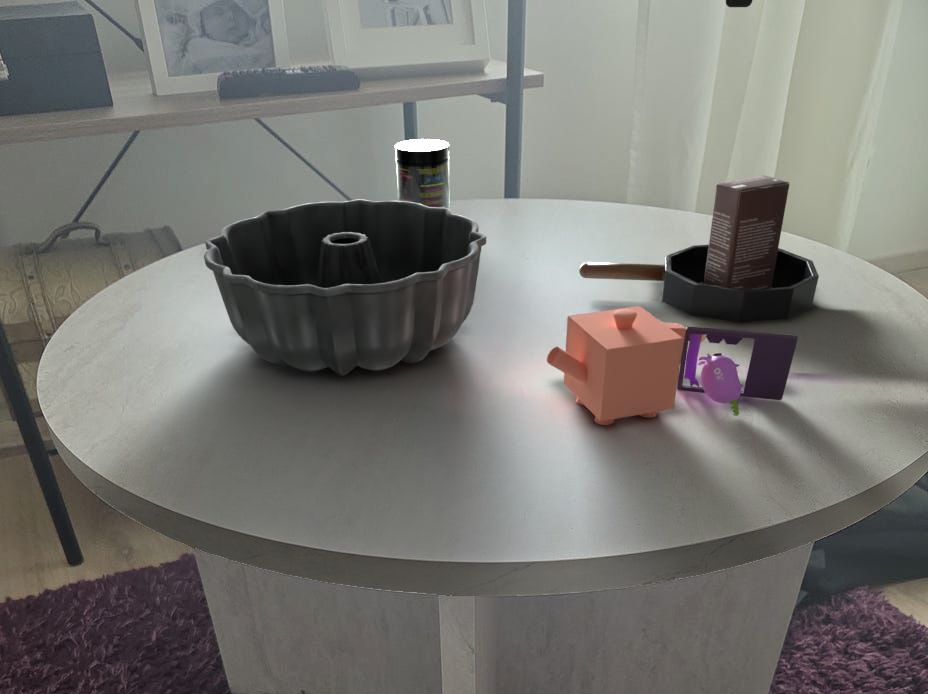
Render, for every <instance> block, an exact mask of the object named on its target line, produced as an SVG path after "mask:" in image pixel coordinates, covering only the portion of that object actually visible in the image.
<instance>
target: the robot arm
mask: <svg viewBox="0 0 928 694" xmlns="http://www.w3.org/2000/svg"><path fill="white" fill-rule="evenodd" d="M753 1H754V0H725V5H726V6H727V7H728V8H748V7H750V6H751V5H752V3H753Z"/></svg>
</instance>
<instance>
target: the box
mask: <svg viewBox="0 0 928 694" xmlns="http://www.w3.org/2000/svg"><path fill="white" fill-rule="evenodd" d="M715 184H716V186H715V192H714V193H715V194H714V202H713V209H712V218H711V224H710V233H709V240H708V245H709V248H708V256H707V263H706V271H705V279H704V283H703V284H706V285H713V286H720V287H727V288H734V289H741V290H753V289H767V288H771V287H772V281H773V275H774V270H775V264H776V258H777V252H778V248H779V247H780V241H781V236H782V235H781V234H782V229H783V223H784V218H785V211H786V205H787V201H788V195H789V189H790V182H789V181H785V180H782V179H778V178H775V177H771V176H768V175H764V174H763V175H757V176H752V177H747V178H739V179H735V180H728V181H720V182H716V183H715Z"/></svg>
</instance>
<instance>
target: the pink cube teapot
mask: <svg viewBox="0 0 928 694" xmlns="http://www.w3.org/2000/svg"><path fill="white" fill-rule="evenodd" d="M685 333H686V326H684V325H682V324H681V323H679V322H663V321H661V320H659V319H658V318H657V317H656V316H655V315H653V314H652V313H650V312H649V311H647V310H646V309H644V308H643V307H642V306H640V305H636V306H630V307H623V308H614V309H608V310H599V311H594V312H586V313H580V314H572V315H568V316H567V320H566V339H565V350H564V349H562V348H561V347H559V346H555V347H553V348H552V349H551V350H550V351H549V353H548V354H547V357H546V362H547V364H548V365H550V366H552V367H553V368H555V369H557V370H558V371H560V372H562V373H563V384H564V386H565V387H566V388H567V389H568V390H569V391H570V392H571V393H572V394H573V395H574V396H575V397H576V399H575V403H576V404H578V405H581V406H585V408H587V409H588V410H589V411H590V412H591V413H592V414H593V415H594V417H595V418H594V422H595V424H597V425H602V426H609V425H612V424H614V423H615V420H616V419H622V418H628V417H633V416H640V417H643V418H647V419H648V418H654V417H657V416H658V412H664V411H670V410H674V407H675V401H676V395H677V385H678V377H679V370H680V362H681V356H682V350H683V345H684V339H685Z"/></svg>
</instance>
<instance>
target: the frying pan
mask: <svg viewBox="0 0 928 694" xmlns="http://www.w3.org/2000/svg"><path fill="white" fill-rule="evenodd" d="M708 248H709V244H697V245H691V246H688V247H685V248H683V249H680V250H678V251H675V252H673V253H670V254H667V255H666V256H664V257H665V258H664V263H663V264H656V263H655V264H653V263H652V264H651V263H624V262H623V263H622V262H592V261H586V262H583V263H582V264H581V265H580V267H579V269H578V272H579V275H580V277H582V278H583V279H595V280H596V279H599V280H622V281H623V280H624V281H625V280H626V281H647V282H648V281H649V282H650V281H651V282H661V288H660V303H662V304H663V303H664V304H668V305H669V306H671V307H673V308H675V309H678V310H679V311H682V312H683V313H685V314H687V315H689V316H692V317H699V318H705V319H711V320H718V321H725V322H730V323H738V324H744V323H745V324H747V323H757V322H758V323H759V322H760V323H761V322H771V321H785V320H789V319H791V318H794V317H795V316H796V315H798V314H800V313H803V312H804V311H806V310H808V309H812V307H813V304H814V299H815V294H816V290H817V286H818V282H819V278H820V277H819V273H818V271H817V269H816V266H815V263H814V261H813V260H812V259H808V258H806V257H803V256H801V255H798V254H795V253H793V252H790V251H788V250H785V249H782V248H779V247H778V252H777V258H776V264H775V270H774V275H773V281H772V287H771V288H767V289H753V290H741V289H734V288H727V287H720V286H713V285H706V284H704V279H705V271H706V263H707V256H708Z"/></svg>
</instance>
